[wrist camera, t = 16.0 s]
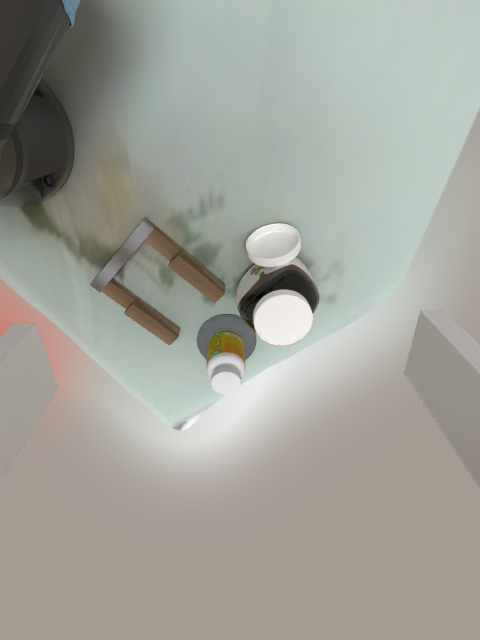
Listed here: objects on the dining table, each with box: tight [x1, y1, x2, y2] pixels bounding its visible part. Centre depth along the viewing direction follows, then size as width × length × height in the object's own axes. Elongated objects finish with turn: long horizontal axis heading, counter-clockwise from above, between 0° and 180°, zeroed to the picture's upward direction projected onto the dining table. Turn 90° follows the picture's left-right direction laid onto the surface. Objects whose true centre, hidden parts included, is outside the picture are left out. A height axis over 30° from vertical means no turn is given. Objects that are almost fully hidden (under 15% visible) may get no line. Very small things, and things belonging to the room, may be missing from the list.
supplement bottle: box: [206, 328, 245, 395], centre depth 52 cm, size 5×5×10 cm
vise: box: [90, 217, 225, 345], centre depth 50 cm, size 12×14×3 cm
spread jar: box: [237, 223, 319, 345], centre depth 46 cm, size 12×11×12 cm
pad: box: [197, 314, 256, 360], centre depth 56 cm, size 9×9×1 cm
